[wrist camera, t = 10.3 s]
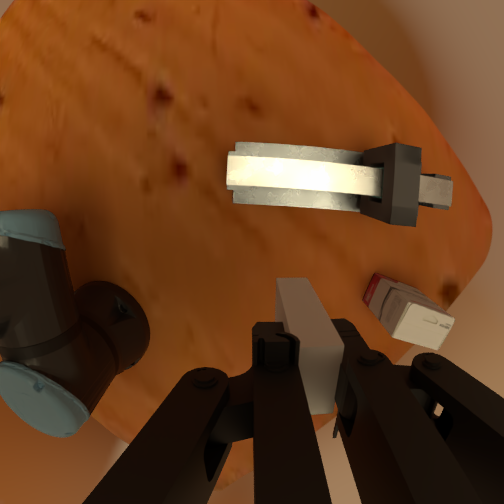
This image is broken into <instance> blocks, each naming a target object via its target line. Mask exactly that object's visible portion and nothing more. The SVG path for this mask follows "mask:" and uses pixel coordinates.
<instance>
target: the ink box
mask: <svg viewBox="0 0 504 504" xmlns="http://www.w3.org/2000/svg"><path fill="white" fill-rule="evenodd" d="M363 301H364V303H365V304H366V305H367V306H368V307H369V309H370V310H371V311H372V312H373V314H374V315H375V316H376V317H377V319H378V320H379V321H380V322H381V324H382V325H383V326H384V327H385V329H386V330H387V331H388V333H389V334H390V335H391V337H393V338H396V339H400V340H403V341H407V342H410V343H414V344H417V345H421V346H424V347H428V348H431V349H435V350H439V348H440V347H441V345H442V344H443V342H444V340H445V338H446V337H447V335H448V333H449V331H450V329H451V327H452V325H453V323H454V322H455V318H453V317H452V316H451V315H450V314H448V313H447V312H446V311H444V310H443V309H442V308H441V307H439V306H438V305H437V304H436V303H434V302H433V301H432V300H430V299H429V298H428V297H427V296H425V295H424V294H423V293H422V292H420V291H419V290H418V289H416V288H414V287H411V286H409V285H406V284H404V283H401V282H398V281H396V280H393V279H391V278H388V277H385V276H383V275H380V274H378V273H375V274H374V276H373V278H372V280H371V282H370V284H369V286H368V289H367V291H366V293H365V296H364V298H363Z"/></svg>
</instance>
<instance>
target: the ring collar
mask: <svg viewBox="0 0 504 504" xmlns="http://www.w3.org/2000/svg"><path fill="white" fill-rule="evenodd" d="M363 166H365V167H372V168H382V167H384V178H383V192H382V199H381V198H376V197H372V196H371V195H362V194H361V203H360V213H361V214H364V215H367V216H369V217H372V218H375V219H377V220H380V221H383V222H385V223H388V224H392V225H402V226H412V227H416V220H417V211H418V201H419V188H420V173H421V148H419V147H414V146H409V145H404V144H399V143H393V144H389V145H385V146H381V147H377V148H373V149H369V150H365V151H364V156H363Z"/></svg>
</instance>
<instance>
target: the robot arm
mask: <svg viewBox="0 0 504 504" xmlns="http://www.w3.org/2000/svg"><path fill="white" fill-rule="evenodd" d="M65 251H66V248H65V246H64V245H63V242H62V237H61V233H60V228H59V223H58V220H57V218H56V216H55V215H54V214H53V213H51V212H50V211H48V210H43V209H23V210H8V211H0V355H1V357H2V360H3V361H1V362H0V395H1V396H2V398H3V399H4V400H5V402H6V403H7V405H8V406H9V407H10V408H11V409H12V410H13V411H14V412H15V413H16V414H17V415H18V416H19V417H20V418H21V419H22V420H24V421H25V422H27V423H28V424H29V425H31V426H32V427H34V428H35V429H37V430H39V431H41V432H43V433H45V434H48V435H51V436H55V437H69V436H72V435H74V434H75V433H76V432H77V431H78V430H79V428H80V427H81V426H82V425H83V423H84V422H86V421H87V420H88V419H89V417H90V415H91V413H92V412H93V410H94V408H95V407H96V405H97V404H98V402H99V400H100V399H101V397H102V396H103V394H104V393H105V391H106V390H107V388H108V386H109V385H110V383H111V382H112V380H113V379H114V377H115V376H116V375H118V374H120V373H121V372H123V371H124V370H126V369H129V368H131V367H132V366H134V365H135V364H136V363H138V361H139V360H140V359H141V358H142V356H143V355H144V353H145V351H146V350H147V347H148V345H149V340H150V330H149V325H148V321H147V318H146V316H145V314H144V312H143V310H142V308H141V307H140V305H139V304H138V303H137V301H136V300H135V299H134V298H133V297H132V296H131V295H130V294H129V293H127V292H126V291H125V290H123V289H122V288H120V287H118V286H116V285H114V284H111V283H108V282H103V281H95V282H90V283H87V284H85V285H83V286H82V287H80V288H79V289H77V290H76V291H75V292H73V287H72V283H71V279H70V274H69V269H68V265H67V260H66V254H65ZM335 402H336V404H337V407H338V413H337V418H336V423H335V427H334V431H333V438H336V436H337V432H338V430H339V432H340V435H341V438H342V441H343V445H344V448H345V451H346V454H347V457H348V460H349V464H350V467H351V470H352V473H353V477H354V480H355V483H356V486H357V489H358V492H359V496H360V499H361V503H362V504H504V398H502V397H501V396H500V395H498V394H497V393H495V392H494V391H492V390H491V389H490V388H488V387H487V386H485V385H484V384H482V383H481V382H479V381H478V380H477V379H475V378H474V377H472V376H471V375H470V374H468V373H467V372H465V371H464V370H462V369H461V368H459V367H458V366H456V365H455V364H454V363H452V362H451V361H449V360H448V359H446V358H444V357H443V356H441V355H438V354H435V353H422V354H418V355H417V356H415V357H414V359H413V361H412V365H411V366H404V365H393V364H392V363H391V361H390V360H389V359H388V357H387V356H386V355H384V354H383V353H381V352H379V351H376V350H371V349H370V348H369V347H368V345H367V344H366V342H365V341H364V339H363V338H362V337H361V336H360V334H359V332H358V331H357V329H356V328H355V326H354V325H353V323H351V322H349V321H348V320H346V319H330V318H329V316H328V314H327V312H326V311H325V309H324V307H323V305H322V303H321V302H320V300H319V298H318V296H317V294H316V293H315V291H314V289H313V287H312V286H311V284H310V282H309V280H308V279H307V278H276V308H275V322H257V323H256V324H255V325H254V327H253V328H252V367H251V368H250V369H249V370H248V371H247V372H246V373H243V374H241V375H238V376H235V377H230V378H228V376H227V374H226V373H224V372H223V371H221V370H219V369H215V368H208V367H203V368H196V369H193V370H191V371H188V372H187V373H186V374H185V375H183V376H182V378H181V379H180V380H179V382H178V383H177V384H176V385H175V387H174V388H173V389H172V391H171V392H170V393H169V395H168V396H167V397H166V398H165V400H164V401H163V402H162V404H161V405H160V406H159V408H158V409H157V410H156V411H155V413H154V414H153V415H152V417H151V418H150V419H149V420H148V422H147V423H146V424H145V426H144V427H143V428H142V429H141V431H140V432H139V433H138V434H137V436H136V437H135V438H134V440H133V441H132V442H131V443H130V445H129V446H128V447H127V449H126V450H125V451H124V452H123V453H122V455H121V456H120V457H119V459H118V460H117V461H116V462H115V464H114V465H113V466H112V467H111V469H110V470H109V471H108V472H107V474H106V475H105V476H104V477H103V479H102V480H101V481H100V482H99V483H98V485H97V486H96V487H95V488H94V490H93V491H92V492H91V493H90V495H89V496H88V497H87V498H86V500H85V501H84V502H83V503H82V504H207V502H208V500H209V498H210V496H211V493H212V491H213V489H214V487H215V484H216V482H217V480H218V478H219V475H220V473H221V471H222V468H223V466H224V464H225V461H226V459H227V457H228V454H229V452H230V450H231V447H232V442H236V441H240V440H244V439H248V438H253V459H254V504H332V502H331V498H330V493H329V489H328V484H327V480H326V476H325V472H324V468H323V463H322V459H321V455H320V451H319V446H318V442H317V438H316V434H315V430H314V426H313V422H312V418H311V415H315V414H327V413H333V409H334V404H335ZM437 403H439V404H440V405H441V406H442V407H444V408H443V411H442V413H441V415H440V416H437V415H435V414H434V411H435V409H436V406H437Z"/></svg>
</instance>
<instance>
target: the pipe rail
mask: <svg viewBox="0 0 504 504" xmlns="http://www.w3.org/2000/svg"><path fill="white" fill-rule="evenodd" d="M363 156H364V153H362V152H355V151H347V150H339V149H330V148H321V147H311V146H299V145H287V144H272V143H253V142H236V148H235V151H229V155H228V164H227V190H233V203H241V204H260V205H278V206H293V207H307V208H321V209H333V210H345V211H356V212H360V203H361V194H362V195H371V196H372V197H376V198H381V199H382V192H383V178H384V167H382V168H372V167H365V166H363ZM421 163H422V162H421ZM452 189H453V181H451V177H449V176H444V175H439V174H421V173H420V188H419V201H418V206H419V205H422V206H427V207H432V208H438V209H445V210H448V209H449V206H451V201H452ZM417 216H418V211H417Z"/></svg>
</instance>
